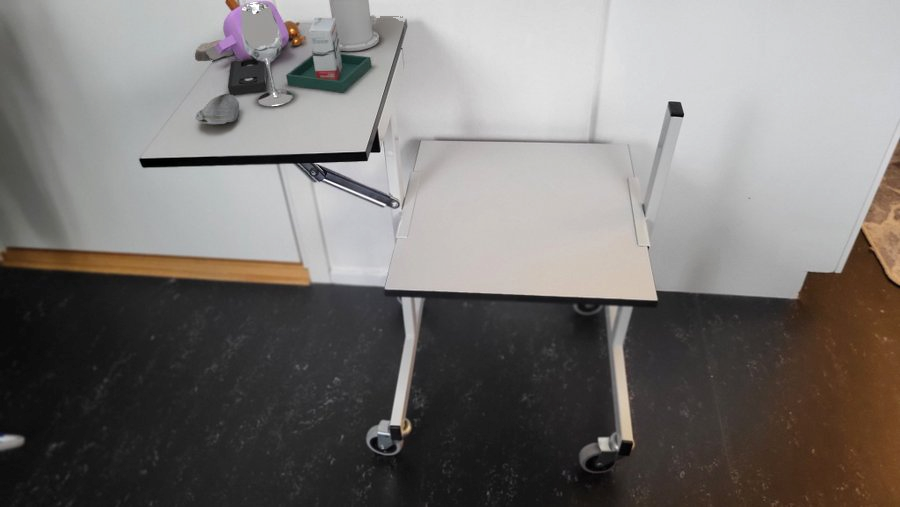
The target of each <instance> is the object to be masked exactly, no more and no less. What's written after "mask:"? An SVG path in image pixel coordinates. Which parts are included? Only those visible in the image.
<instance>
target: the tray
mask: <svg viewBox="0 0 900 507" xmlns="http://www.w3.org/2000/svg"><path fill="white" fill-rule="evenodd" d="M341 60H342V69H341V72H340V75H339V78H338V81H337V80H330V79H322V78H316V73H315V66H314V60H313V54H312V55H310V56H309V57H308V58H306V59H305V60H304V61H303V62H301V63H300V64H298V65H297V66H296V67H295V68H293V69H292V70H291V71H289V72H288V73H287V74H286V75H285V77H286V83H287V86H290V87H297V88H304V89H310V90H311V89H313V90H319V91H328V92H333V93H334V92H335V93H340V94H341V93H343V94H344V93H345V92H346V91H347V90H348V89H350V88H351V87H352V86H353V85H354V84H356V82H357V81H359V79H361V78H362V77H363V76H364V75H366V73H367V72H368V71H369V70H370V69H371V68H372V60H371V56H364V55H354V54H345V53H341Z"/></svg>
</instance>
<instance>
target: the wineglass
mask: <svg viewBox="0 0 900 507" xmlns="http://www.w3.org/2000/svg"><path fill="white" fill-rule="evenodd" d="M249 3H250V2H249ZM245 4H246V3H245ZM243 5H244V4H243ZM241 27H242V38H243V44H244V47H245V50H246V51H247V53H248V54H249V55H250V56H251V57H252V58H253V59H255V60H257V61H259V62H263V63H265V65H266V68H267V71H266V72H267V75H268V78H269V84H270V87H271V91H268V92H265V93H262V94H261V95H260V96H259V97H258V99H257V102H258V104H259V105H261V106H263V107H269V108H271V107H272V108H273V107H280V106H283V105H287V104H288V103H290V102H291V101H292V100H293V98H294V95H293V93H292V92H290V91H289V90H283V89H276V86H275V82H274V78H273V74H272V73H273V72H272V67H271V63H272V62H273V61H274V60H276V59H277V57H279V55H280V54H281V52H282V49H283V48H282V38H281V34H280V31H279V28H278V25H277V23H276V20H275V18H274V15H273V13H272V11H271V9H270V6H269V5H268V4H267V3H263V2H256V3H250V4H246V5H244V6H242V7H241Z"/></svg>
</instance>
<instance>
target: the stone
mask: <svg viewBox="0 0 900 507" xmlns="http://www.w3.org/2000/svg"><path fill="white" fill-rule="evenodd" d="M221 40H222V39H217V40H213V41H211V42H204V43H201V44H199V46H198V47H196V49H195V52H194V58H195V61H196V62H211V61H217V60H219V59H221V58H224V57H231V56H233V55H234V52H233V50H232V49H231V50H229V51H227V52H224V53H222V54H220V55H219V53H218V52H217V50H216V48H215V46H216V44H217V43H218V42H219V41H221Z"/></svg>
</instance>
